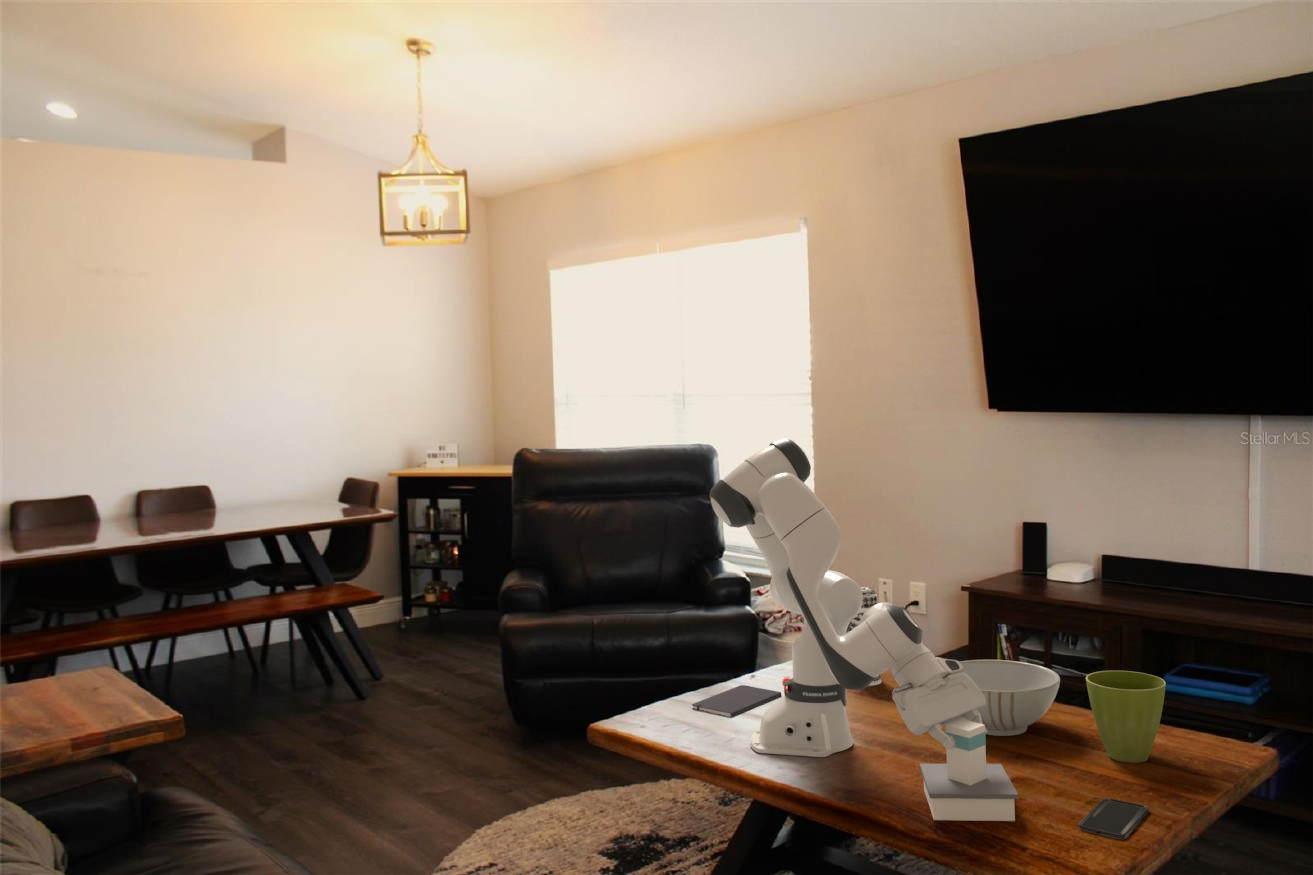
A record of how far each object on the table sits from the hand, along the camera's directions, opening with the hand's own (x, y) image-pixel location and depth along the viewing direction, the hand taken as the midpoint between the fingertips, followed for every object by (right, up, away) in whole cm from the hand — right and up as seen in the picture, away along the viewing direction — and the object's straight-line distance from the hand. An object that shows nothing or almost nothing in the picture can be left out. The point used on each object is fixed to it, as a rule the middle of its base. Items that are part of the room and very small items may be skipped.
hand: (968, 741), depth 189 cm
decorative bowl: (+20, -10, +44) cm, 49 cm away
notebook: (-37, -12, +71) cm, 81 cm away
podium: (0, -12, +1) cm, 12 cm away
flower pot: (+39, -10, +22) cm, 46 cm away
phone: (+23, -12, -8) cm, 27 cm away
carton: (0, -7, +1) cm, 7 cm away
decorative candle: (-2, -9, +85) cm, 85 cm away
